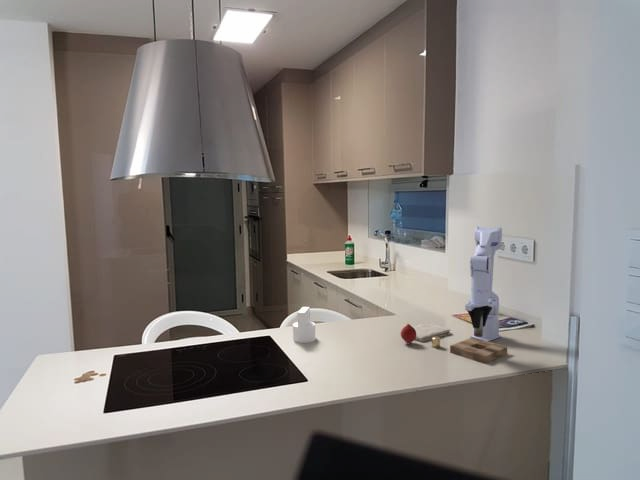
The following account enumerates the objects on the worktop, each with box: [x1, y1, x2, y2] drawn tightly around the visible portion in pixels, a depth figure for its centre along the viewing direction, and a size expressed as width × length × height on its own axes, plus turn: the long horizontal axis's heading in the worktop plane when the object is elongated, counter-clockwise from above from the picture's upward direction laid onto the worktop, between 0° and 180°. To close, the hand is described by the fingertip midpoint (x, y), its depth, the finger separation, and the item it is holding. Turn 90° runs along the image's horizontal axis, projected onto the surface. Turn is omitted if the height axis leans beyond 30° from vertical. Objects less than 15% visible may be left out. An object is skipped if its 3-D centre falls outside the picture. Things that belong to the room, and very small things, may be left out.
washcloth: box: [400, 322, 451, 343], centre depth 182 cm, size 12×18×3 cm, turn 125°
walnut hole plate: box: [449, 337, 508, 364], centre depth 160 cm, size 14×14×2 cm
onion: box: [400, 322, 416, 345], centre depth 171 cm, size 6×6×8 cm
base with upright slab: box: [292, 306, 316, 344], centre depth 179 cm, size 9×9×12 cm
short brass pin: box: [431, 337, 441, 349], centre depth 168 cm, size 3×3×4 cm
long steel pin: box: [473, 314, 483, 337], centre depth 160 cm, size 3×3×8 cm
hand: (478, 326), depth 159 cm, fingers closed on long steel pin, 3 cm apart
